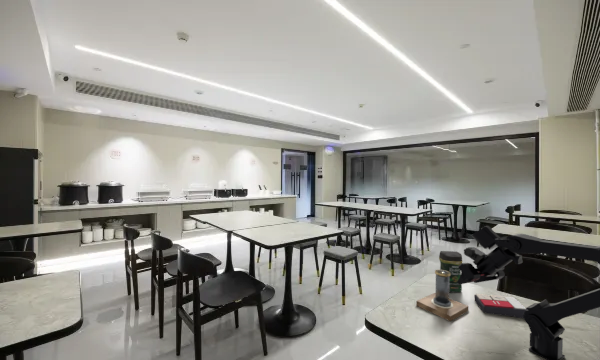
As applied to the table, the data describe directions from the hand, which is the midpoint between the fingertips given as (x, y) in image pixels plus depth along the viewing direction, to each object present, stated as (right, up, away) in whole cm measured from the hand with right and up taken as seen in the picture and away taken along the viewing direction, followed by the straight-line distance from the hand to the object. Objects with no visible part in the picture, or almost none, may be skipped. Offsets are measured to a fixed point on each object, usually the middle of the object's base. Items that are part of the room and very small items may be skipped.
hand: (466, 282), depth 99 cm
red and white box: (+18, -14, +6) cm, 24 cm away
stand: (-6, -13, +7) cm, 16 cm away
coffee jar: (+8, -13, +24) cm, 29 cm away
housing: (-6, -11, +7) cm, 14 cm away
